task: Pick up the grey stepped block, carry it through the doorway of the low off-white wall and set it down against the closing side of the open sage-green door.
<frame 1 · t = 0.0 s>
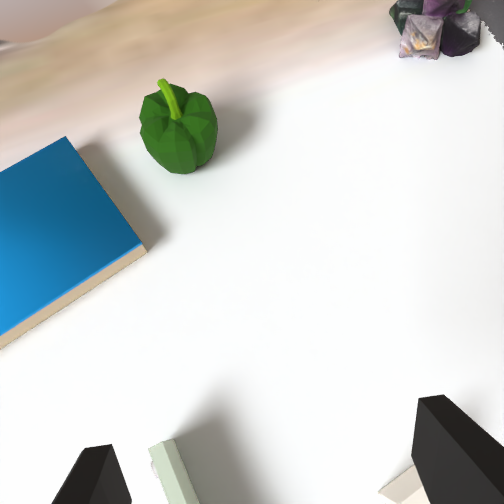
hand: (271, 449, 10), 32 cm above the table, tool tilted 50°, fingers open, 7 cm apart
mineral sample: (436, 38, 60), on the table
bell pepper: (186, 155, 52), on the table
book: (13, 263, 47), on the table
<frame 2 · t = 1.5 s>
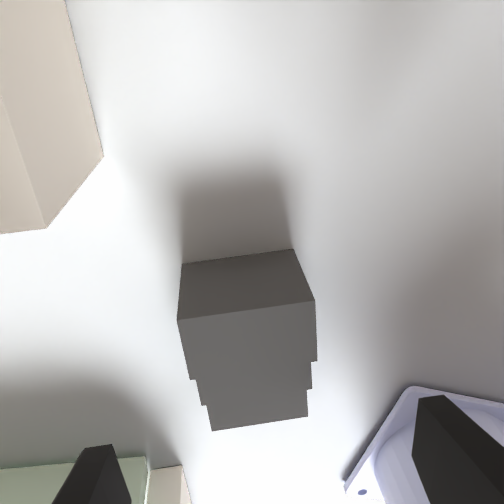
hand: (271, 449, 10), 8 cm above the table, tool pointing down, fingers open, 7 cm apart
door wall: (131, 345, 18), on the table
grey stepped block: (247, 333, 19), on the table
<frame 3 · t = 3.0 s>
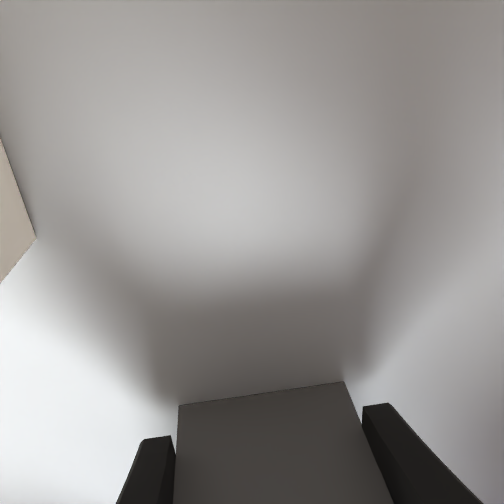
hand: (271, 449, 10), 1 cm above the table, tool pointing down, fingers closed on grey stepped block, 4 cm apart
door wall: (98, 491, 12), on the table
grey stepped block: (272, 488, 13), on the table, touching gripper
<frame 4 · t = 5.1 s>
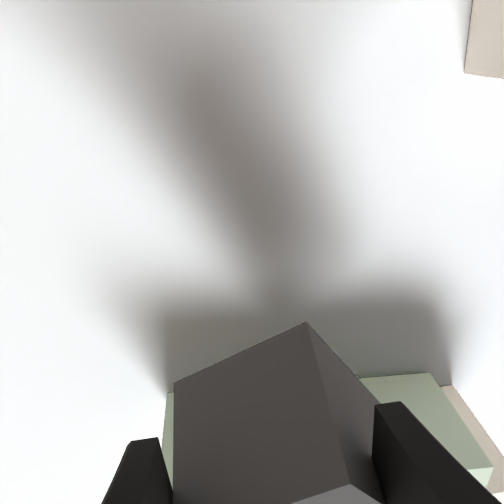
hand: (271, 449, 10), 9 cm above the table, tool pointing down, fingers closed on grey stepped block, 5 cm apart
door wall: (457, 258, 20), on the table
door: (313, 441, 20), point 3 cm above the table, hinge at 85.0°, touching grey stepped block
grey stepped block: (300, 405, 14), point 6 cm above the table, tilted 16°, touching door, gripper
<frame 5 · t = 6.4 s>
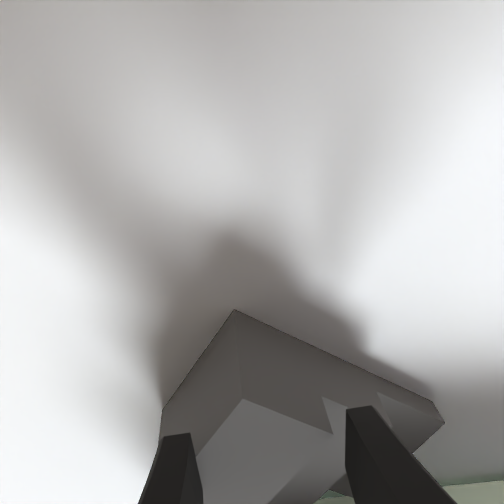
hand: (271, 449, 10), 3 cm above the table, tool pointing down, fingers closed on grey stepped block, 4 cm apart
grey stepped block: (298, 391, 15), on the table, touching gripper
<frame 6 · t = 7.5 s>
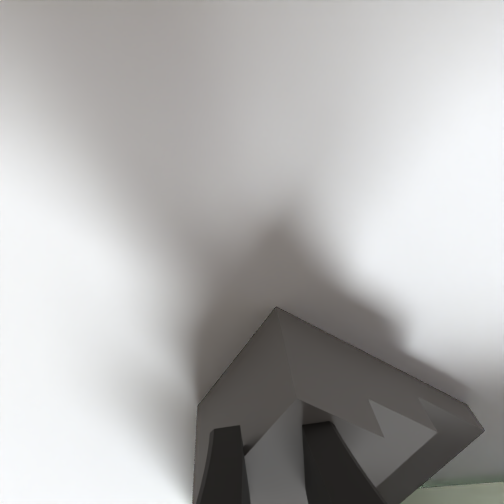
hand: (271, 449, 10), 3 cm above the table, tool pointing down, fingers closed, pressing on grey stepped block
grey stepped block: (333, 395, 14), on the table, touching gripper
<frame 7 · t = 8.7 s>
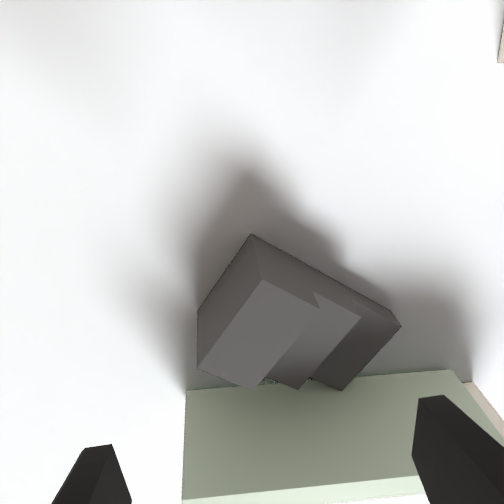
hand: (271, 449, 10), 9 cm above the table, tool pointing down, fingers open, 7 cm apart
door wall: (482, 253, 19), on the table
door: (336, 438, 19), point 3 cm above the table, hinge at 85.0°
grey stepped block: (295, 307, 20), on the table
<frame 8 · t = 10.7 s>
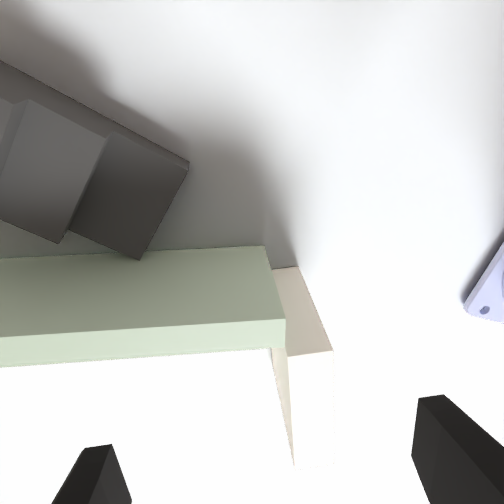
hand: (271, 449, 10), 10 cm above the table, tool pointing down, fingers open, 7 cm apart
door wall: (269, 87, 16), on the table
door: (97, 307, 16), point 3 cm above the table, hinge at 85.0°, touching grey stepped block
grey stepped block: (74, 158, 17), on the table, touching door
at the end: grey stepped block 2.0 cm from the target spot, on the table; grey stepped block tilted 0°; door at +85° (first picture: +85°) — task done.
